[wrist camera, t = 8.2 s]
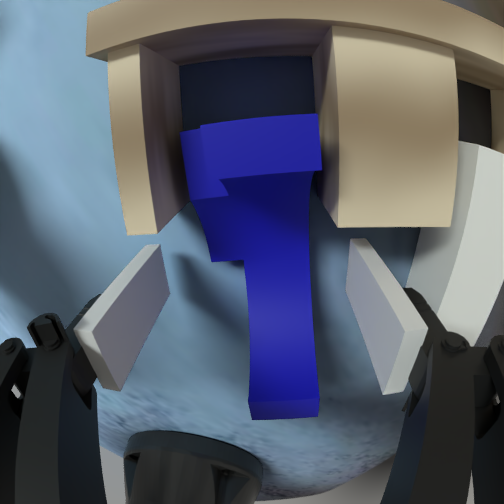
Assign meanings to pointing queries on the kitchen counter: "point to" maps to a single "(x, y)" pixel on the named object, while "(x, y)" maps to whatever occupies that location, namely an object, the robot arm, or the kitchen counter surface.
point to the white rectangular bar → (465, 246)
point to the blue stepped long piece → (264, 244)
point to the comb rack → (325, 88)
